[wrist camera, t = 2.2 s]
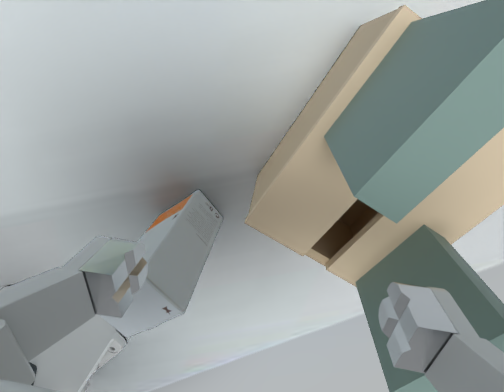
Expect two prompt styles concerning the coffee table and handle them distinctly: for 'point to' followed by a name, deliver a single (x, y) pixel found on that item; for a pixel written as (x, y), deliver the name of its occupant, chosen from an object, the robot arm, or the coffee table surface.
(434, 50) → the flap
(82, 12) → the coffee table surface
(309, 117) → the carton
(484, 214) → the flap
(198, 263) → the skincare box
